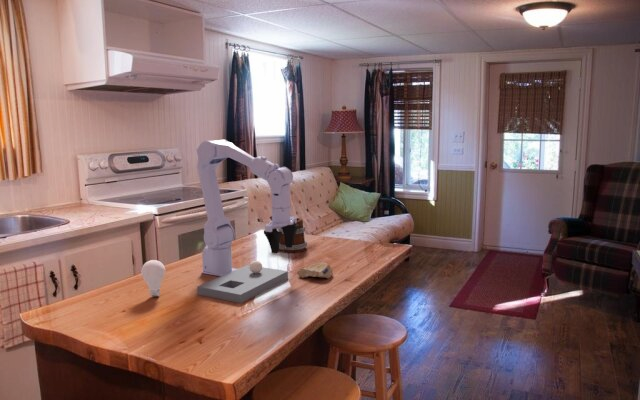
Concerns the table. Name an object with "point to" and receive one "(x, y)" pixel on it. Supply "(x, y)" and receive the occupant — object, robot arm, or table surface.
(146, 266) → the light bulb
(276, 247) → the robot arm
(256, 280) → the plate
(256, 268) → the ball
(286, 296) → the table surface
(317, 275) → the stone
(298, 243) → the mug
